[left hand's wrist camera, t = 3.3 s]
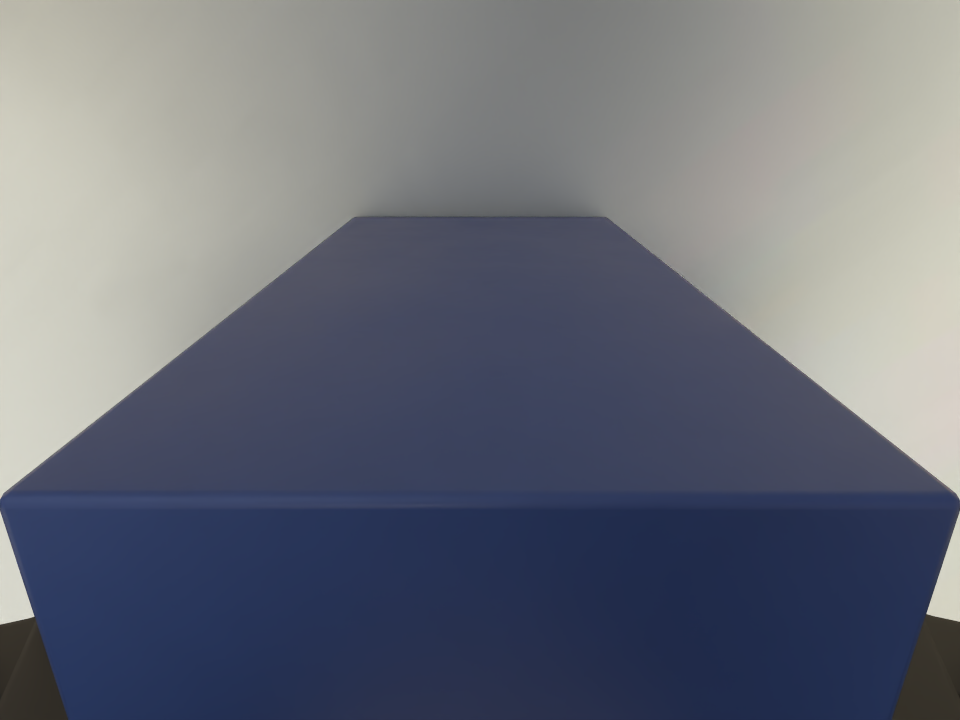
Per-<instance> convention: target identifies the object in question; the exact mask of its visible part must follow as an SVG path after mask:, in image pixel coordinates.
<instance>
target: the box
mask: <svg viewBox="0 0 960 720" xmlns="http://www.w3.org/2000/svg"><path fill="white" fill-rule="evenodd" d="M0 511H1V515H2V518H3V521H4V524H5V527H6V530H7V533H8V536H9V539H10V542H11V545H12V548H13V551H14V554H15V558H16V561H17V564H18V567H19V570H20V573H21V576H22V579H23V582H24V585H25V588H26V591H27V594H28V597H29V601H30V604H31V607H32V610H33V613H34V616H35V619H36V622H37V625H38V628H39V631H40V634H41V637H42V640H43V643H44V647H45V650H46V653H47V656H48V659H49V662H50V665H51V668H52V671H53V674H54V677H55V680H56V683H57V686H58V690H59V693H60V696H61V699H62V702H63V705H64V708H65V711H66V714H67V717H68V720H892V717H893V714H894V711H895V708H896V705H897V702H898V699H899V695H900V692H901V689H902V686H903V683H904V680H905V677H906V674H907V671H908V668H909V665H910V662H911V659H912V656H913V653H914V649H915V646H916V643H917V640H918V637H919V634H920V631H921V628H922V625H923V622H924V619H925V616H926V613H927V610H928V607H929V603H930V600H931V597H932V594H933V591H934V588H935V585H936V582H937V579H938V576H939V573H940V570H941V567H942V564H943V561H944V557H945V554H946V551H947V548H948V545H949V542H950V539H951V536H952V533H953V530H954V527H955V524H956V521H957V518H958V515H959V511H960V500H959V498H958V496H957V495H956V493H955V492H953V491H952V490H951V489H949V488H948V487H947V486H946V485H944V484H943V483H942V482H941V481H939V480H938V479H937V478H936V477H934V476H933V475H932V474H930V473H929V472H928V471H927V470H925V469H924V468H923V467H922V466H920V465H919V464H918V463H917V462H915V461H914V460H913V459H912V458H910V457H909V456H908V455H906V454H905V453H904V452H903V451H901V450H900V449H899V448H898V447H896V446H895V445H894V444H893V443H891V442H890V441H889V440H887V439H886V438H885V437H884V436H882V435H881V434H880V433H879V432H877V431H876V430H875V429H874V428H872V427H871V426H870V425H869V424H867V423H866V422H865V421H863V420H862V419H861V418H860V417H858V416H857V415H856V414H855V413H853V412H852V411H851V410H850V409H848V408H847V407H846V406H844V405H843V404H842V403H841V402H839V401H838V400H837V399H836V398H834V397H833V396H832V395H831V394H829V393H828V392H827V391H826V390H824V389H823V388H822V387H820V386H819V385H818V384H817V383H815V382H814V381H813V380H812V379H810V378H809V377H808V376H807V375H805V374H804V373H803V372H801V371H800V370H799V369H798V368H796V367H795V366H794V365H793V364H791V363H790V362H789V361H788V360H786V359H785V358H784V357H783V356H781V355H780V354H779V353H777V352H776V351H775V350H774V349H772V348H771V347H770V346H769V345H767V344H766V343H765V342H764V341H762V340H761V339H760V338H758V337H757V336H756V335H755V334H753V333H752V332H751V331H750V330H748V329H747V328H746V327H745V326H743V325H742V324H741V323H740V322H738V321H737V320H736V319H734V318H733V317H732V316H731V315H729V314H728V313H727V312H726V311H724V310H723V309H722V308H721V307H719V306H718V305H717V304H715V303H714V302H713V301H712V300H710V299H709V298H708V297H707V296H705V295H704V294H703V293H702V292H700V291H699V290H698V289H697V288H695V287H694V286H693V285H691V284H690V283H689V282H688V281H686V280H685V279H684V278H683V277H681V276H680V275H679V274H678V273H676V272H675V271H674V270H672V269H671V268H670V267H669V266H667V265H666V264H665V263H664V262H662V261H661V260H660V259H659V258H657V257H656V256H655V255H653V254H652V253H651V252H650V251H648V250H647V249H646V248H645V247H643V246H642V245H641V244H640V243H638V242H637V241H636V240H635V239H633V238H632V237H631V236H629V235H628V234H627V233H626V232H624V231H623V230H622V229H621V228H619V227H618V226H617V225H616V224H614V223H613V222H612V221H610V220H609V219H608V218H606V217H354V218H352V219H351V220H350V221H349V222H347V223H346V224H345V225H344V226H342V227H341V228H340V229H339V230H337V231H336V232H335V233H333V234H332V235H331V236H330V237H328V238H327V239H326V240H325V241H323V242H322V243H321V244H319V245H318V246H317V247H316V248H314V249H313V250H312V251H311V252H309V253H308V254H307V255H306V256H304V257H303V258H302V259H300V260H299V261H298V262H297V263H295V264H294V265H293V266H292V267H290V268H289V269H288V270H286V271H285V272H284V273H283V274H281V275H280V276H279V277H278V278H276V279H275V280H274V281H273V282H271V283H270V284H269V285H267V286H266V287H265V288H264V289H262V290H261V291H260V292H259V293H257V294H256V295H255V296H253V297H252V298H251V299H250V300H248V301H247V302H246V303H245V304H243V305H242V306H241V307H240V308H238V309H237V310H236V311H234V312H233V313H232V314H231V315H229V316H228V317H227V318H226V319H224V320H223V321H222V322H220V323H219V324H218V325H217V326H215V327H214V328H213V329H212V330H210V331H209V332H208V333H207V334H205V335H204V336H203V337H201V338H200V339H199V340H198V341H196V342H195V343H194V344H193V345H191V346H190V347H189V348H187V349H186V350H185V351H184V352H182V353H181V354H180V355H179V356H177V357H176V358H175V359H174V360H172V361H171V362H170V363H168V364H167V365H166V366H165V367H163V368H162V369H161V370H160V371H158V372H157V373H156V374H154V375H153V376H152V377H151V378H149V379H148V380H147V381H146V382H144V383H143V384H142V385H141V386H139V387H138V388H137V389H135V390H134V391H133V392H132V393H130V394H129V395H128V396H127V397H125V398H124V399H123V400H121V401H120V402H119V403H118V404H116V405H115V406H114V407H113V408H111V409H110V410H109V411H108V412H106V413H105V414H104V415H102V416H101V417H100V418H99V419H97V420H96V421H95V422H94V423H92V424H91V425H90V426H88V427H87V428H86V429H85V430H83V431H82V432H81V433H80V434H78V435H77V436H76V437H75V438H73V439H72V440H71V441H69V442H68V443H67V444H66V445H64V446H63V447H62V448H61V449H59V450H58V451H57V452H55V453H54V454H53V455H52V456H50V457H49V458H48V459H47V460H45V461H44V462H43V463H42V464H40V465H39V466H38V467H36V468H35V469H34V470H33V471H31V472H30V473H29V474H28V475H26V476H25V477H24V478H22V479H21V480H20V481H19V482H17V483H16V484H15V485H14V486H12V487H11V488H10V489H9V490H7V491H6V492H5V493H4V494H3V496H2V497H1V499H0Z"/></svg>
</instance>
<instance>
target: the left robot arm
mask: <svg viewBox="0 0 960 720" xmlns="http://www.w3.org/2000/svg"><path fill="white" fill-rule="evenodd" d="M0 720H68V717H67V714H66V711H65V708H64V705H63V702H62V699H61V696H60V693H59V690H58V686H57V683H56V680H55V677H54V674H53V671H52V668H51V665H50V662H49V659H48V656H47V653H46V650H45V647H44V643H43V640H42V637H41V634H40V631H39V628H38V625H37V622H36V619H35V617H32V618H29V619H25V620H20V621H15V622H11V623H6V624H2V625H0ZM892 720H960V622H958V621H953V620H948V619H944V618H939V617H935V616H931V615H927V614H926V616H925V619H924V622H923V625H922V628H921V631H920V634H919V637H918V640H917V643H916V646H915V649H914V653H913V656H912V659H911V662H910V665H909V668H908V671H907V674H906V677H905V680H904V683H903V686H902V689H901V692H900V695H899V699H898V702H897V705H896V708H895V711H894V714H893V717H892Z"/></svg>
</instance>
